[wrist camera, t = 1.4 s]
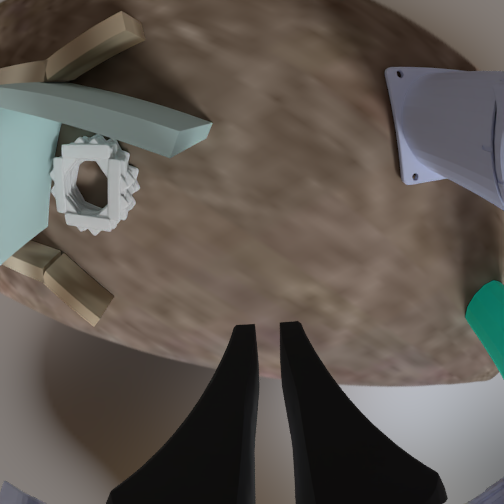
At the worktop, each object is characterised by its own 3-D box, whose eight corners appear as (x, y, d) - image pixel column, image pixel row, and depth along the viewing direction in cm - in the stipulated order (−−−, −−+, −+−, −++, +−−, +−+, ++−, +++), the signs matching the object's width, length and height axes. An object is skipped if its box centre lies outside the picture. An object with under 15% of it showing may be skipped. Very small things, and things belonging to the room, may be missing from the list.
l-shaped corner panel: (41, 222, 19) (-14, 267, 12) (64, 81, 13) (-11, 85, 7) (159, 275, 21) (124, 345, 14) (212, 122, 15) (179, 131, 9)
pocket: (151, 23, 12) (133, 10, 9) (114, 307, 22) (101, 329, 20) (-21, 53, 10) (-41, 54, 7) (-22, 250, 20) (-37, 263, 18)
